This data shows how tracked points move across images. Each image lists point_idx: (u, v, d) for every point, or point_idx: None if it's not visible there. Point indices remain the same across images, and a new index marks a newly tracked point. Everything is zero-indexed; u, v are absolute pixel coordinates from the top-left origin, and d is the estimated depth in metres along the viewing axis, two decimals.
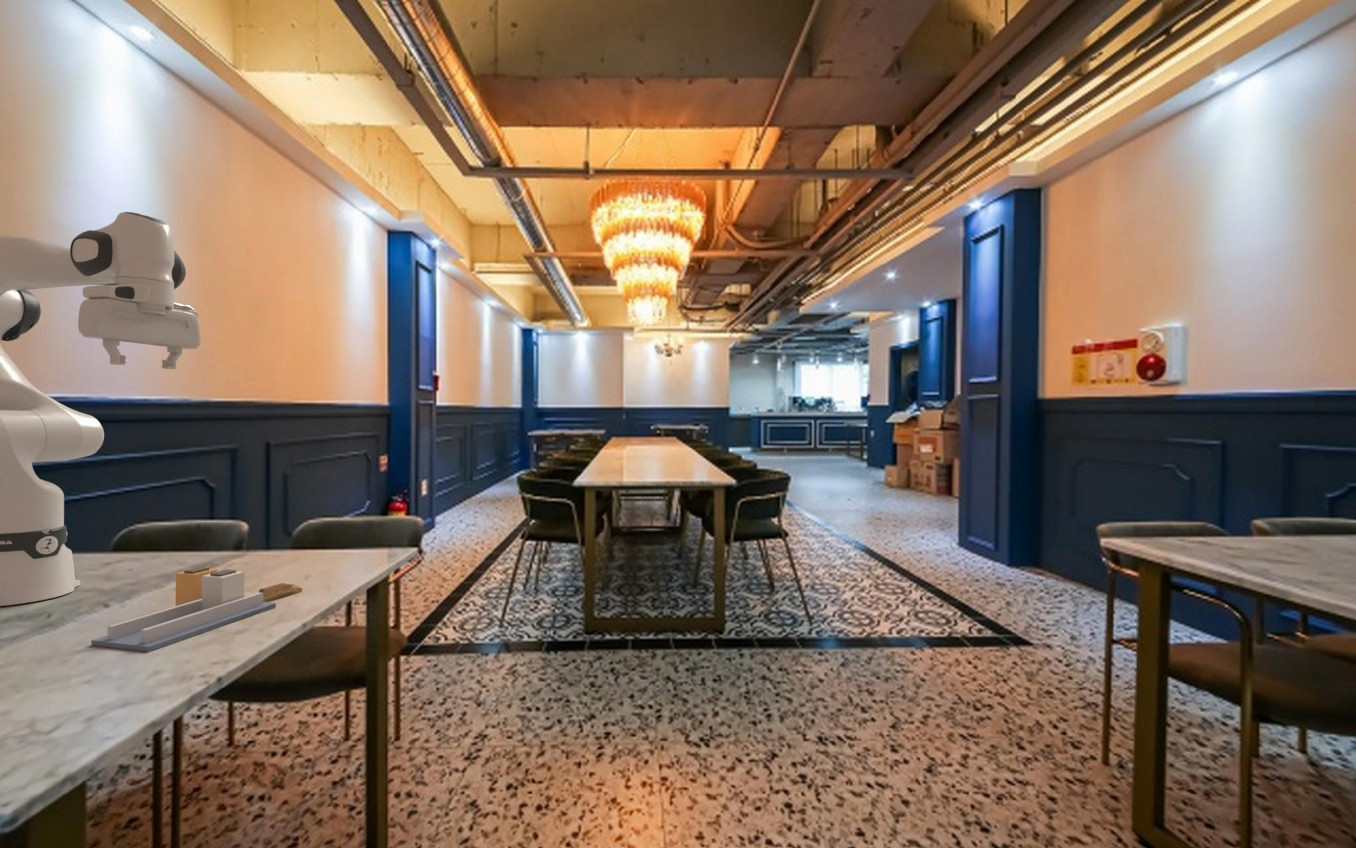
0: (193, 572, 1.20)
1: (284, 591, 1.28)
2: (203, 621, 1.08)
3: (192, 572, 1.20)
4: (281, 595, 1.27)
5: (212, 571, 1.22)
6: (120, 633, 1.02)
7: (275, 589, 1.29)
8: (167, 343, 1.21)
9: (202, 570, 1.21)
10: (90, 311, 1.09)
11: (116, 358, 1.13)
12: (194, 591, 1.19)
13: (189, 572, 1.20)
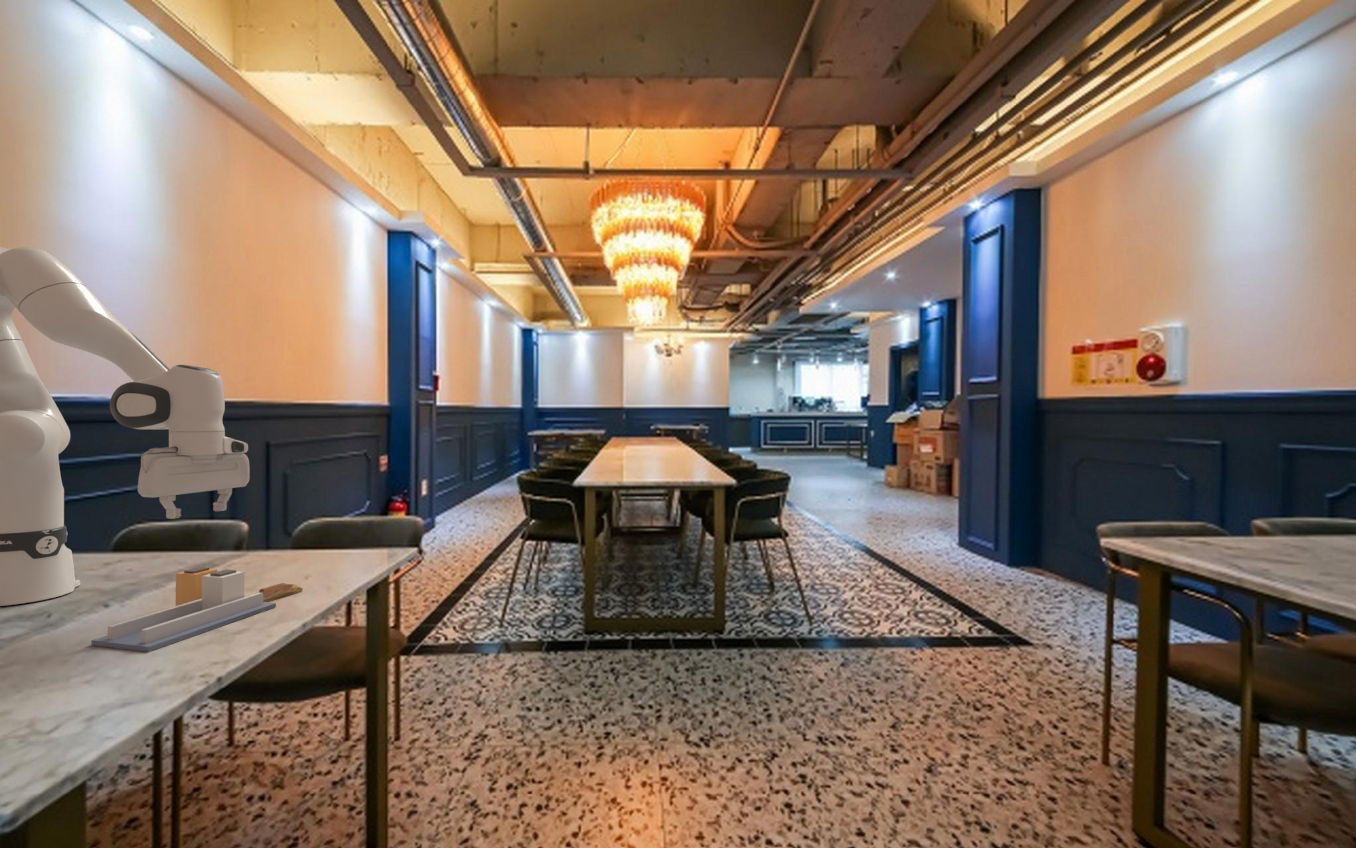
0: (193, 572, 1.20)
1: (284, 591, 1.28)
2: (203, 621, 1.08)
3: (192, 572, 1.20)
4: (281, 595, 1.27)
5: (212, 571, 1.22)
6: (120, 633, 1.02)
7: (275, 589, 1.29)
8: None
9: (202, 570, 1.21)
10: None
11: None
12: (194, 591, 1.19)
13: (189, 572, 1.20)
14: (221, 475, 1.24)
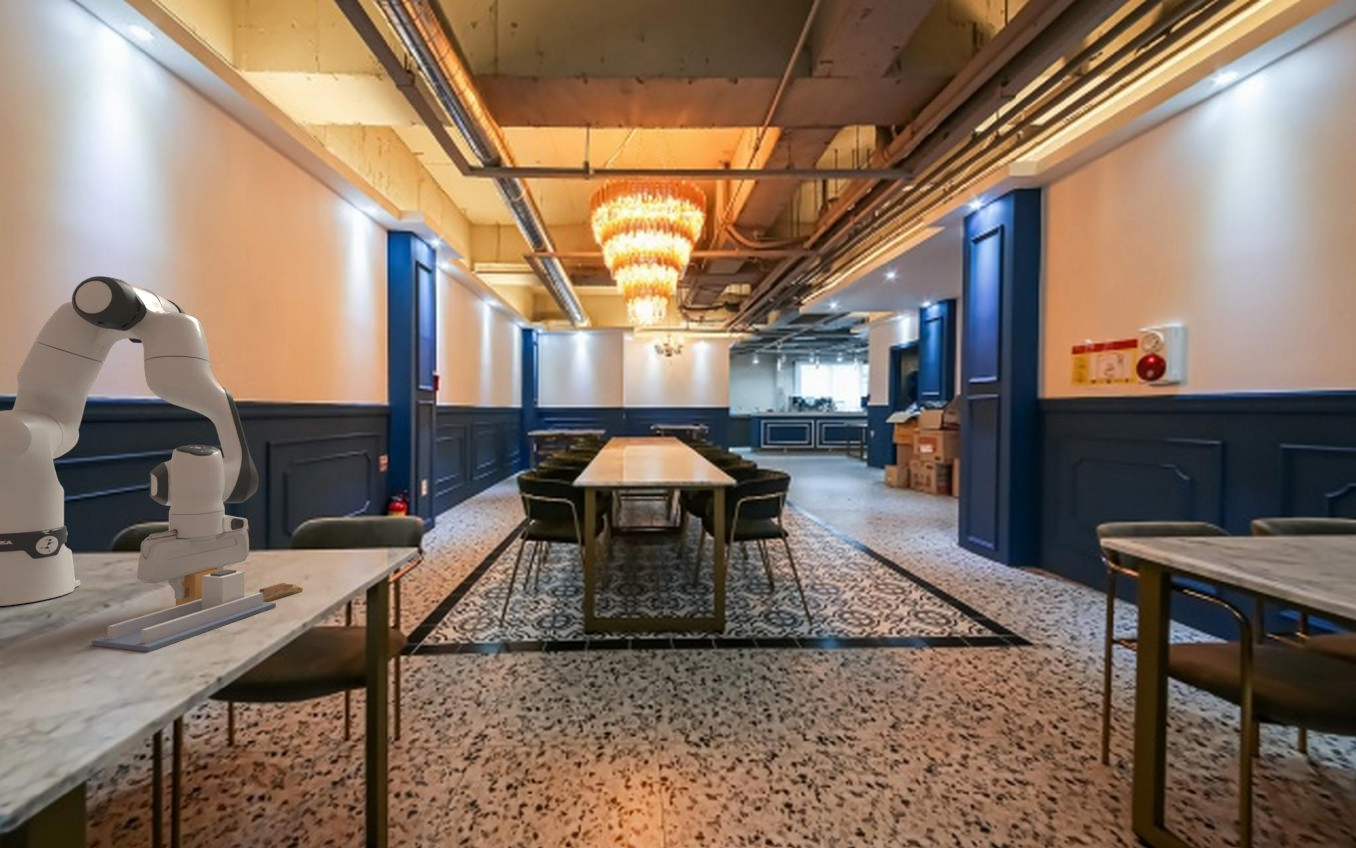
0: None
1: (285, 591, 1.28)
2: (203, 621, 1.08)
3: None
4: (281, 595, 1.27)
5: (212, 571, 1.22)
6: (120, 633, 1.02)
7: (275, 589, 1.29)
8: None
9: None
10: None
11: None
12: (194, 591, 1.19)
13: None
14: (220, 552, 1.24)
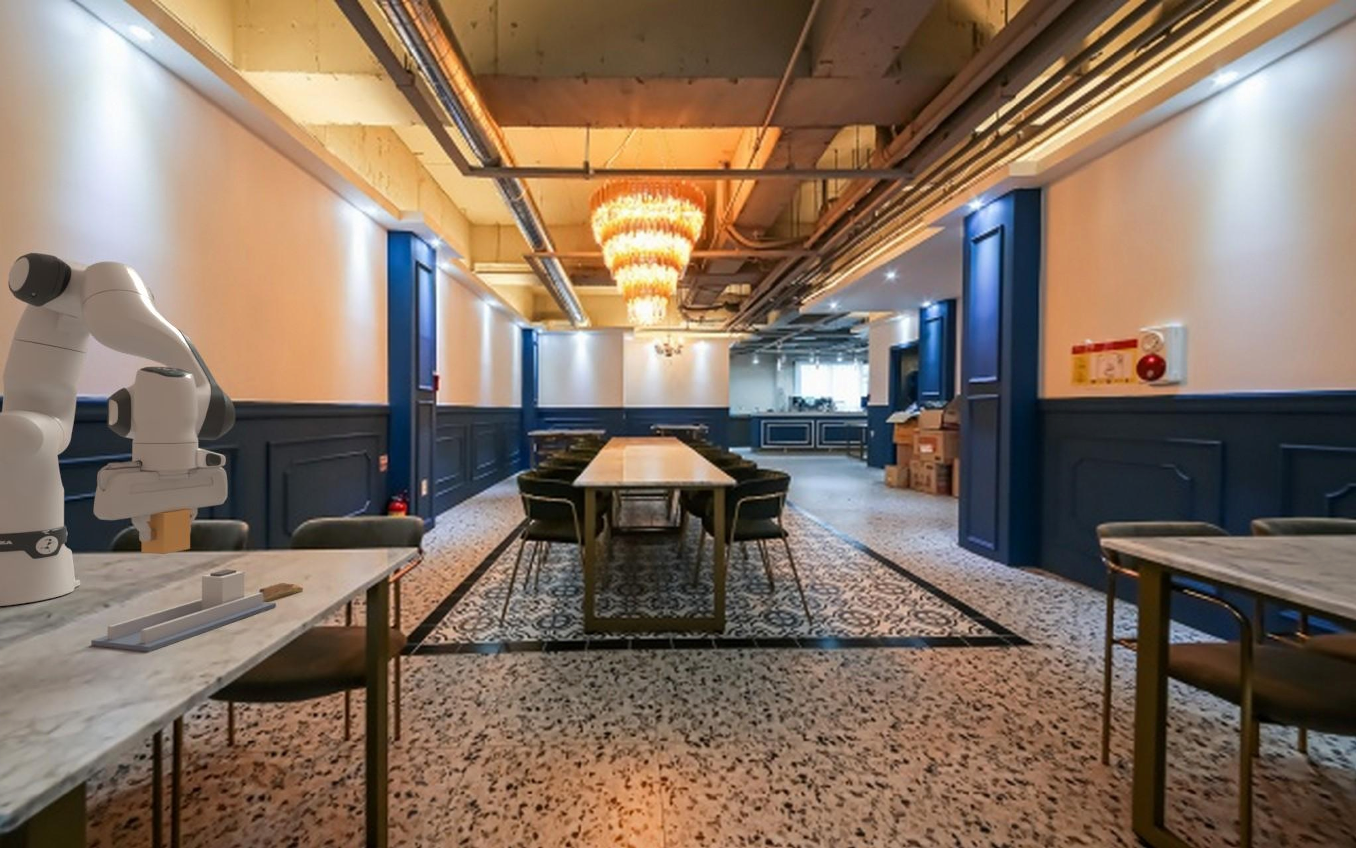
0: None
1: (285, 591, 1.28)
2: (203, 621, 1.08)
3: None
4: (281, 595, 1.27)
5: (184, 511, 1.06)
6: (120, 633, 1.02)
7: (275, 589, 1.29)
8: None
9: None
10: None
11: None
12: (163, 532, 1.03)
13: None
14: (194, 492, 1.09)
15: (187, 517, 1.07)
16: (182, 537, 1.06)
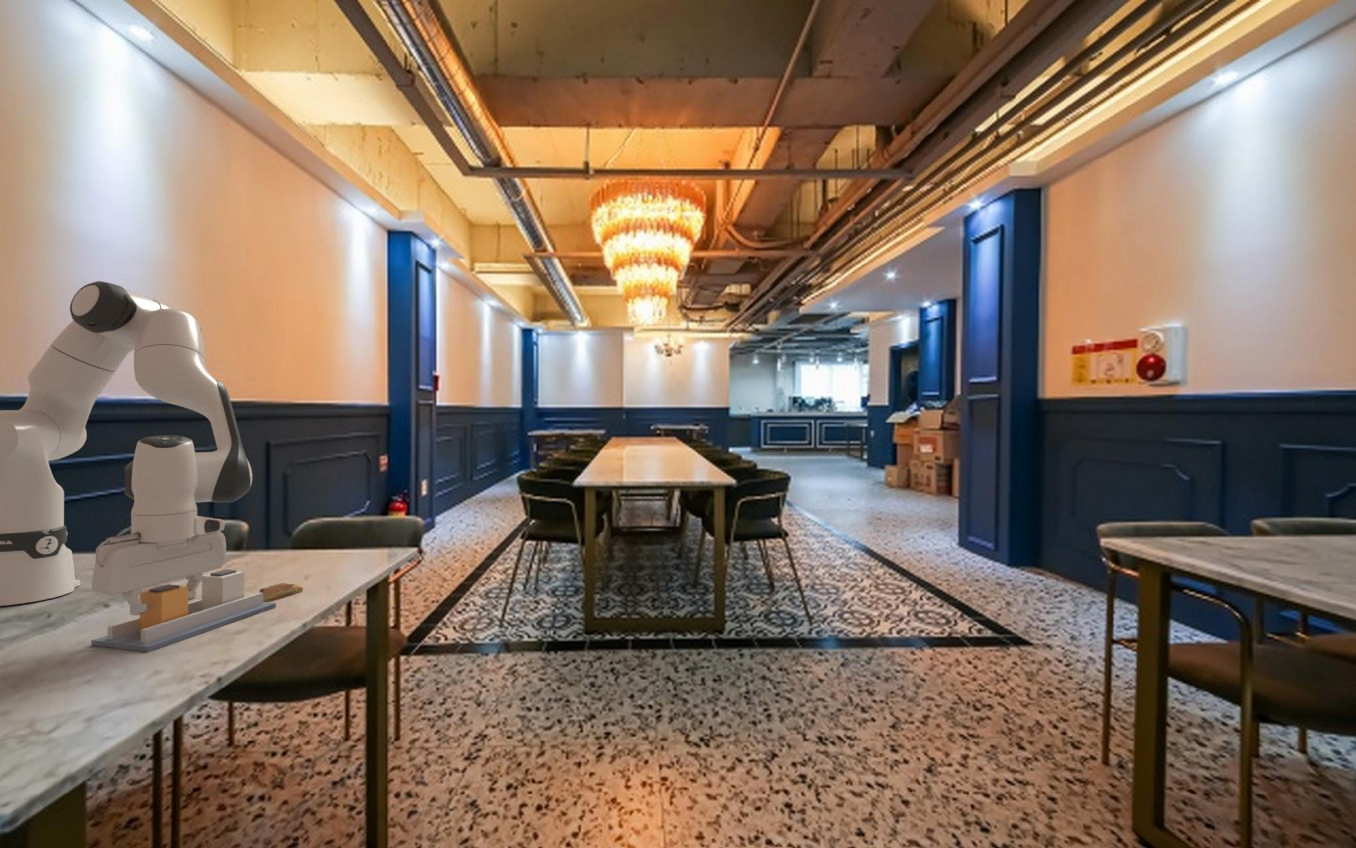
0: (160, 591, 1.04)
1: (285, 591, 1.28)
2: (203, 621, 1.08)
3: (158, 591, 1.04)
4: (282, 595, 1.28)
5: (182, 589, 1.06)
6: (120, 633, 1.02)
7: (276, 589, 1.29)
8: None
9: (170, 588, 1.05)
10: None
11: None
12: (161, 613, 1.03)
13: (155, 591, 1.04)
14: (192, 559, 1.09)
15: (185, 594, 1.07)
16: (180, 615, 1.06)
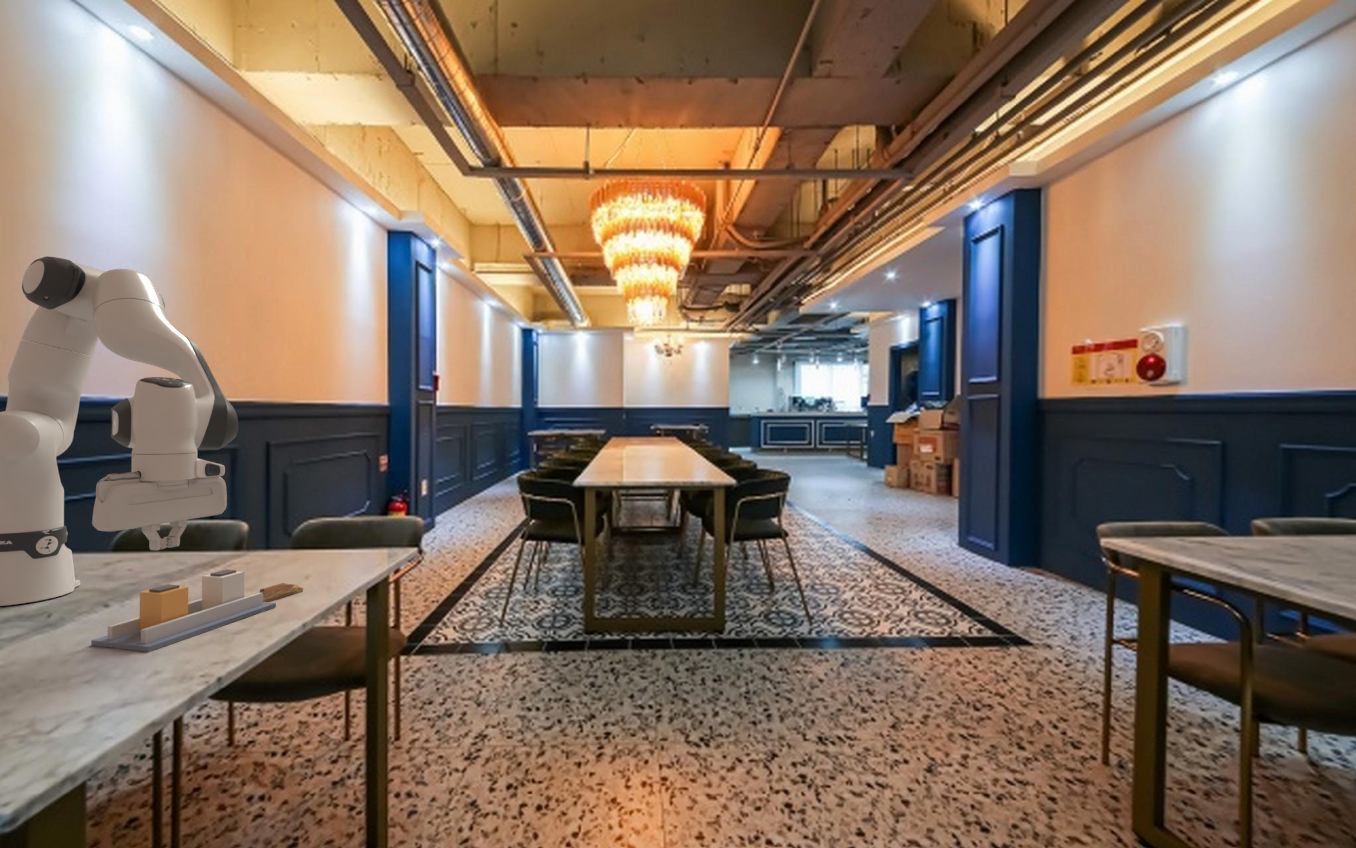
0: (160, 591, 1.04)
1: (285, 591, 1.28)
2: (203, 621, 1.08)
3: (158, 591, 1.04)
4: (282, 595, 1.28)
5: (182, 589, 1.06)
6: (120, 633, 1.02)
7: (276, 589, 1.29)
8: None
9: (170, 588, 1.05)
10: None
11: None
12: (161, 613, 1.03)
13: (155, 591, 1.04)
14: (193, 502, 1.08)
15: (185, 594, 1.07)
16: (180, 615, 1.06)
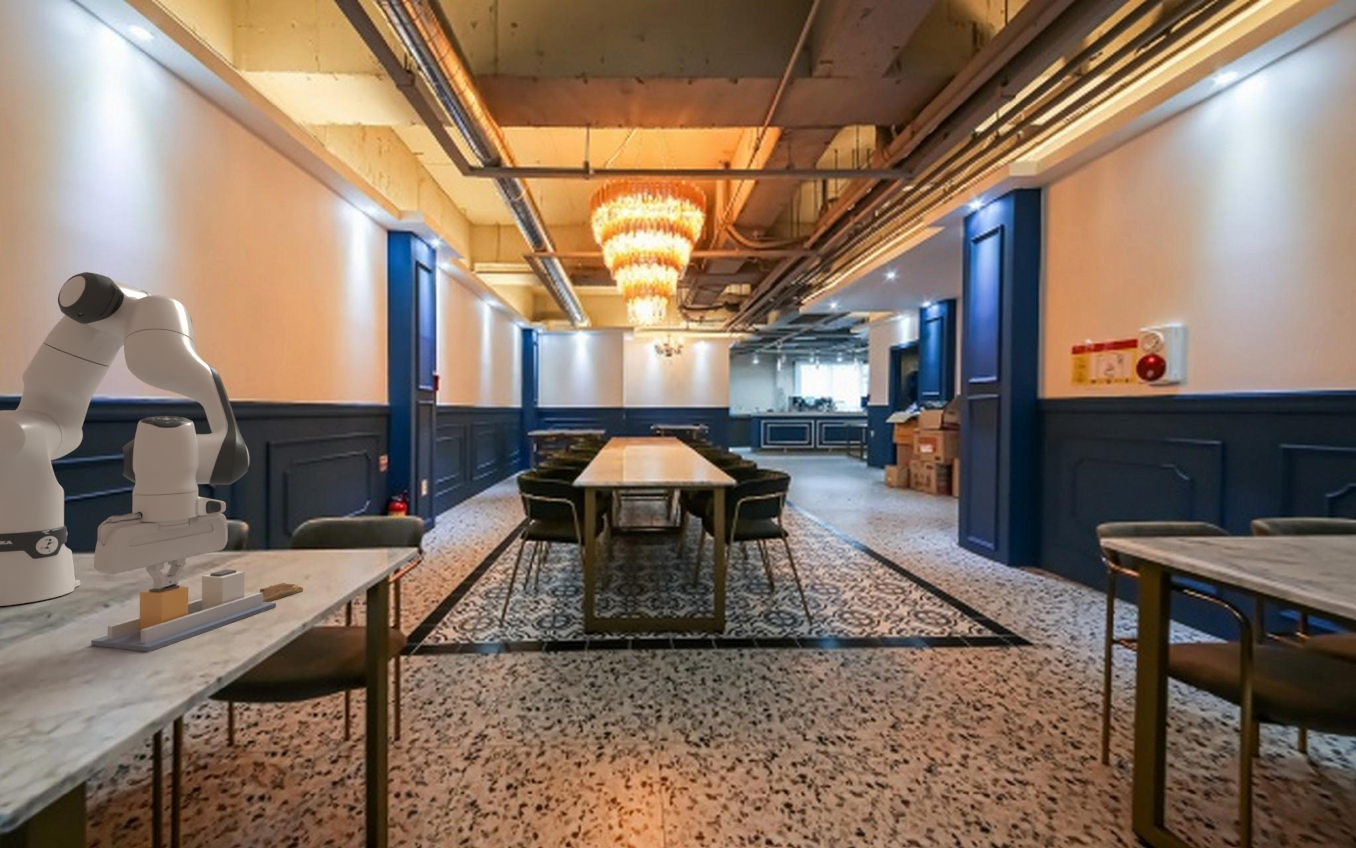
0: (160, 591, 1.04)
1: (285, 591, 1.28)
2: (203, 621, 1.08)
3: (158, 591, 1.04)
4: (282, 595, 1.28)
5: (182, 589, 1.06)
6: (120, 633, 1.02)
7: (276, 589, 1.29)
8: None
9: (170, 588, 1.05)
10: None
11: None
12: (161, 613, 1.03)
13: (155, 591, 1.04)
14: (194, 540, 1.09)
15: (185, 594, 1.07)
16: (180, 615, 1.06)
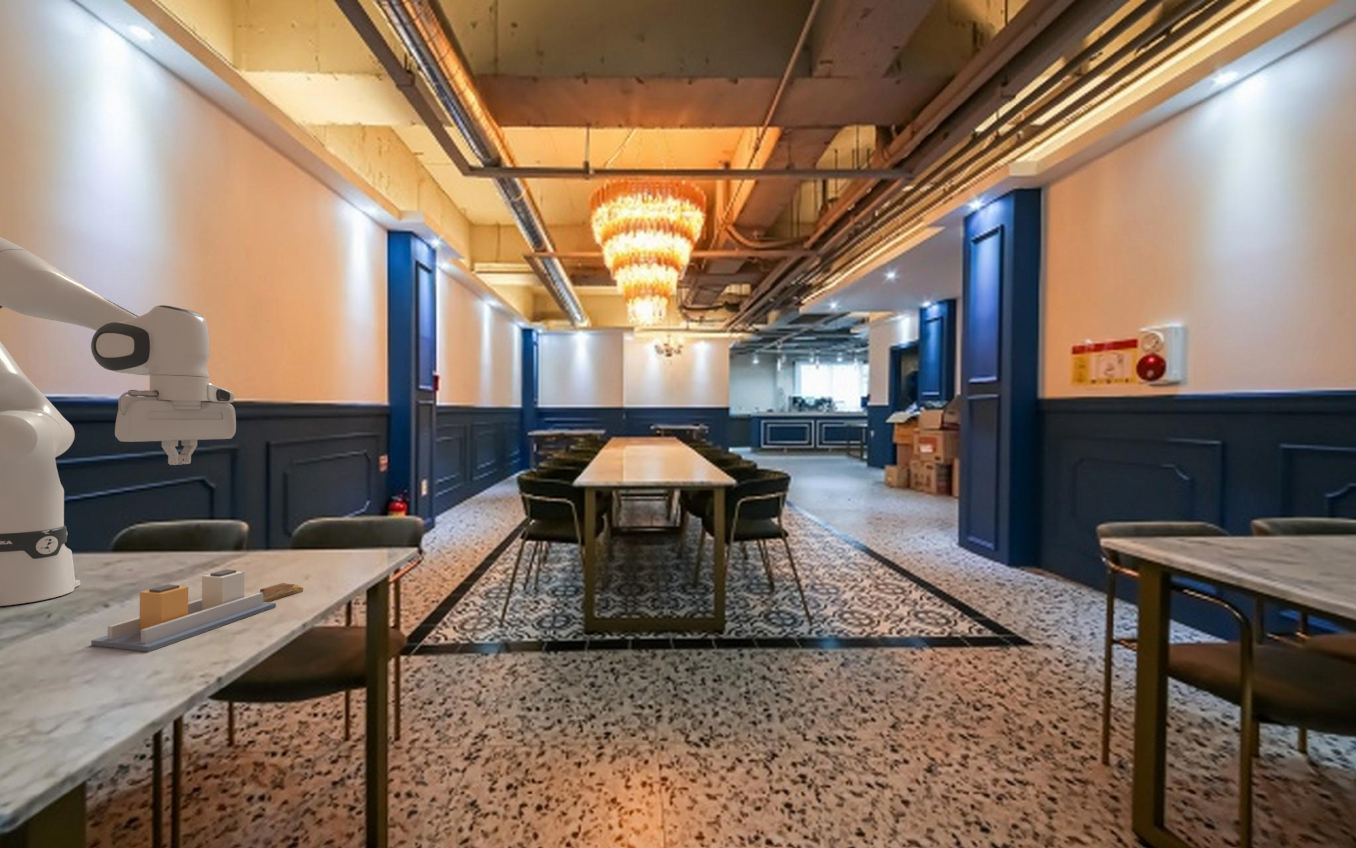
0: (160, 591, 1.04)
1: (285, 591, 1.28)
2: (203, 621, 1.08)
3: (158, 591, 1.04)
4: (282, 595, 1.28)
5: (182, 589, 1.06)
6: (120, 633, 1.02)
7: (276, 589, 1.29)
8: None
9: (170, 588, 1.05)
10: None
11: None
12: (161, 613, 1.03)
13: (155, 591, 1.04)
14: (205, 424, 1.18)
15: (185, 594, 1.07)
16: (180, 615, 1.06)
